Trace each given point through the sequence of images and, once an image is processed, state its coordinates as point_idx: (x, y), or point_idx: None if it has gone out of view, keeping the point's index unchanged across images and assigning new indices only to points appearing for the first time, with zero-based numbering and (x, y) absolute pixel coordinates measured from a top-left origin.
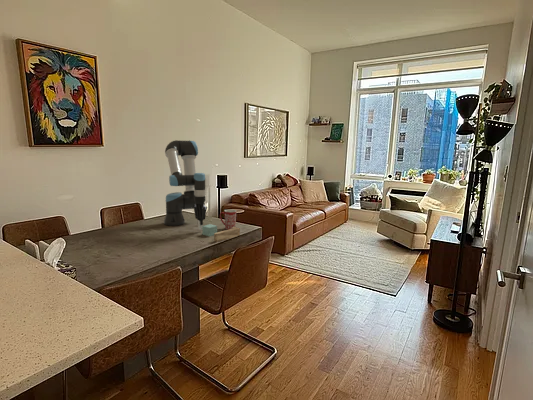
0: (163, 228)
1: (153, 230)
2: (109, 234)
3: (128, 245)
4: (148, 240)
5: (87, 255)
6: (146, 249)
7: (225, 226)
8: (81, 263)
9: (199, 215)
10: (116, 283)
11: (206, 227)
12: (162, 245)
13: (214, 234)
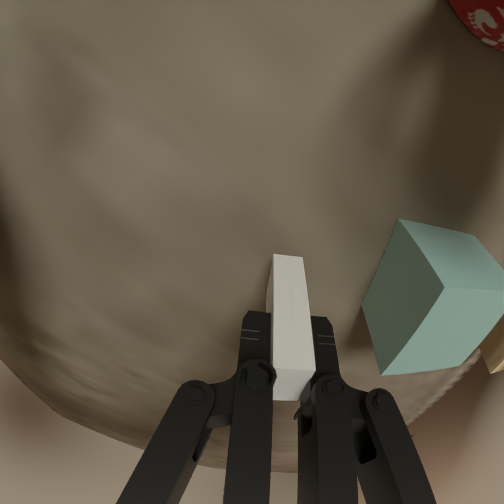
0: (35, 319)
1: (57, 356)
2: (67, 403)
3: None
4: None
5: (208, 462)
6: (275, 448)
7: (489, 28)
8: None
9: (298, 478)
10: None
11: (432, 367)
12: (288, 434)
13: (489, 368)
